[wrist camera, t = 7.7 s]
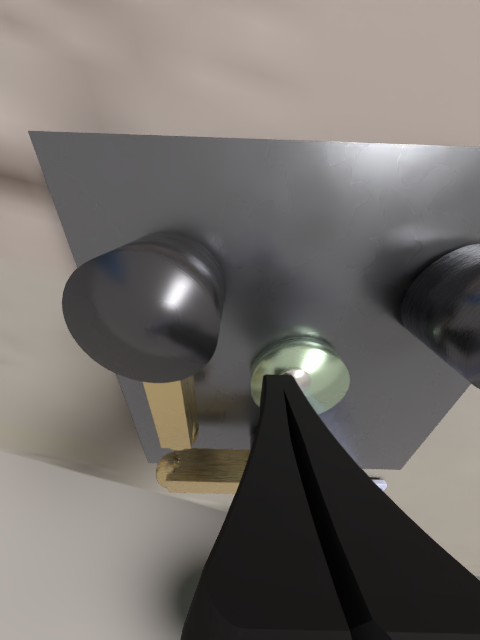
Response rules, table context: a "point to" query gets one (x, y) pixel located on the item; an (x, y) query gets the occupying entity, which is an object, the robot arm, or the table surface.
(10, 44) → the table surface
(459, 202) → the dark grey square plate
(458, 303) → the knob
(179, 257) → the knob
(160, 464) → the knob
